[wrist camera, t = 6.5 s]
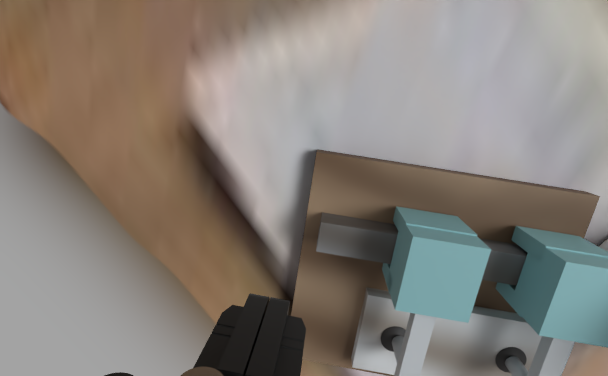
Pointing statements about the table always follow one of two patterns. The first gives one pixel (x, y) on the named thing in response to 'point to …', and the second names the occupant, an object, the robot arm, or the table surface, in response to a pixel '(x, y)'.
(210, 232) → the table surface
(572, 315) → the fixed leg
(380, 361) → the board
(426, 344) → the sliding leg
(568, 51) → the table surface
